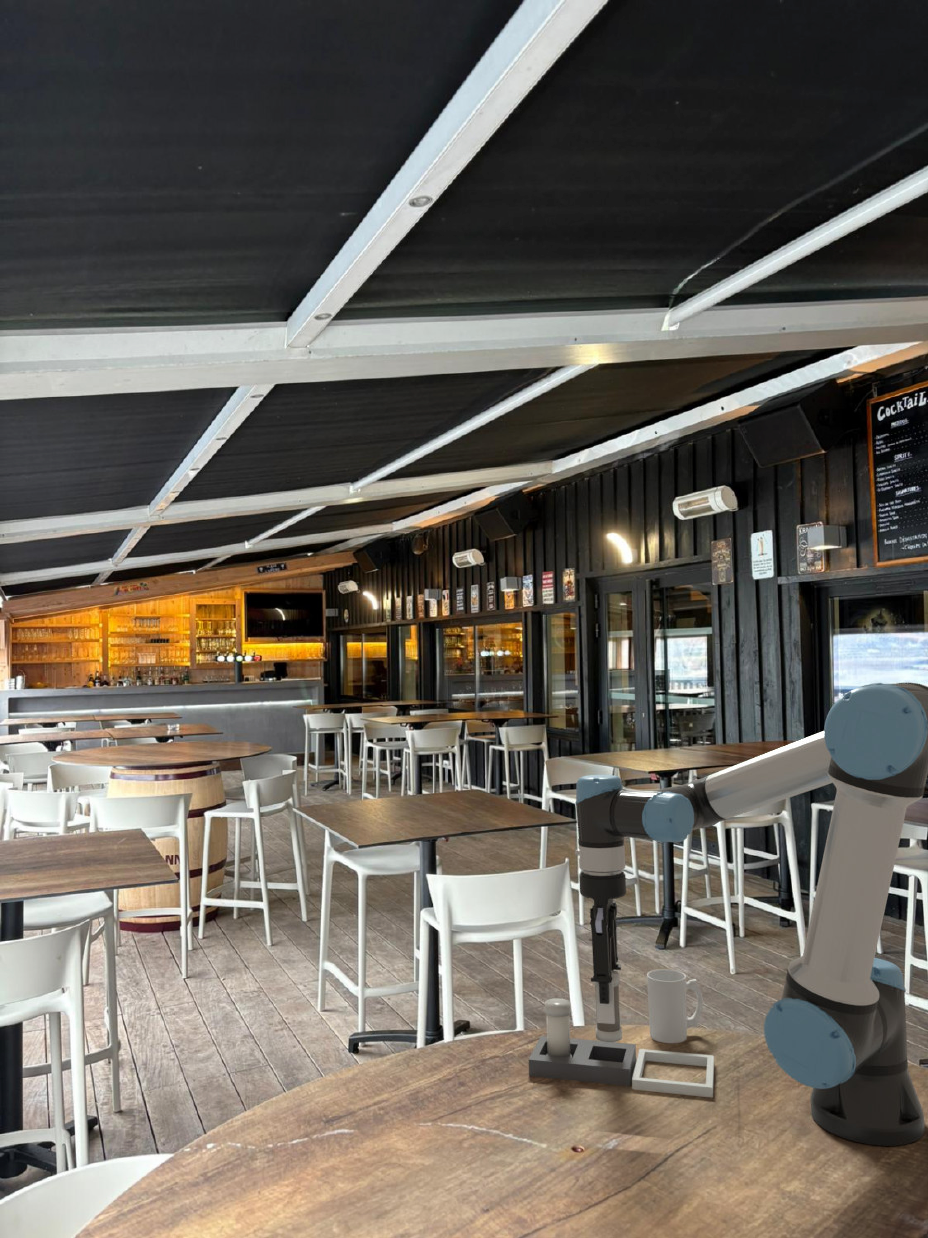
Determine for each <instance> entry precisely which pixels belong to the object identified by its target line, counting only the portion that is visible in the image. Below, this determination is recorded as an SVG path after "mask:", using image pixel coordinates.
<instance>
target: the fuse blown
mask: <svg viewBox="0 0 928 1238" xmlns="http://www.w3.org/2000/svg"><path fill="white" fill-rule="evenodd" d="M616 971H617V970H614V971H613V970H611V972H612V981H613V987H614V1011H615V1024H607V1023H597V1001H596V1000H595V1017H596V1018H595V1019H596V1026H595V1038H596V1040H597V1041H603V1042H619V1041H621V1040H622V1039H623V1029H622V1026H621V1011H620V990H619V989H620V988H619V987H620V983H621V982H620V980H621V977H620V972H618V971H617V972H616ZM592 976H594V972H593V974H592ZM593 985H594V992H595V993H594V995H595V999H596V982H593Z"/></svg>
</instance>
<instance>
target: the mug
mask: <svg viewBox="0 0 928 1238" xmlns="http://www.w3.org/2000/svg"><path fill="white" fill-rule="evenodd" d="M646 976H647V977H646V979H647V981H646V984H647V986H646V987H647V1000H648V1001H647V1002H648V1003H647V1004H648V1021H649V1036H650V1038H651V1039H653V1040H654V1041H655V1042H659V1043H664V1044H678V1043H682V1042H685V1041H686V1040H687V1039H688V1035H687V1034H688V1029H689V1028H692V1027H693V1028H694V1027H695V1028H696V1027H698V1025H699V1023H700V1022H699V1021H700V1020H701V1016H702V1012H703V1008H704V997H703V996H704V995H703V993H702V990H701V988H700V986H699V983H698V980H697V979H696V978H693V979H688V981H687V975H686V974H685V973H684V972H682V971H678V970H676V969H666V968H665V969H662V968H660V969H654V970H650V971H648V972H647V973H646ZM688 990H692V991H693V992H694V994H695V996H696V1006H695V1007H696V1008H695V1011H694V1012H693V1014H692V1015H691V1016H690V1017H687V1016H688V1015H687V991H688Z"/></svg>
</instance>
